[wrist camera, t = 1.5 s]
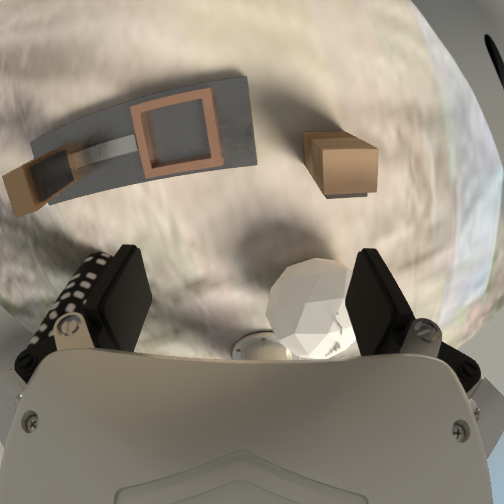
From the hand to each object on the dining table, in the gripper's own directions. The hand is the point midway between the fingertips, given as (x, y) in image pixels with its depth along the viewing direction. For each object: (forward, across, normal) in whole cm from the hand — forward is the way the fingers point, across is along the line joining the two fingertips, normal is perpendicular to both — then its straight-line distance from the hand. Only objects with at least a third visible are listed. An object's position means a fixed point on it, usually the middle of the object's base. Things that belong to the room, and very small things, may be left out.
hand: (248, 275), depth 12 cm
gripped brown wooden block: (+23, -8, -1) cm, 24 cm away
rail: (+23, +15, -2) cm, 27 cm away
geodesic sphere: (+23, -9, +18) cm, 30 cm away
